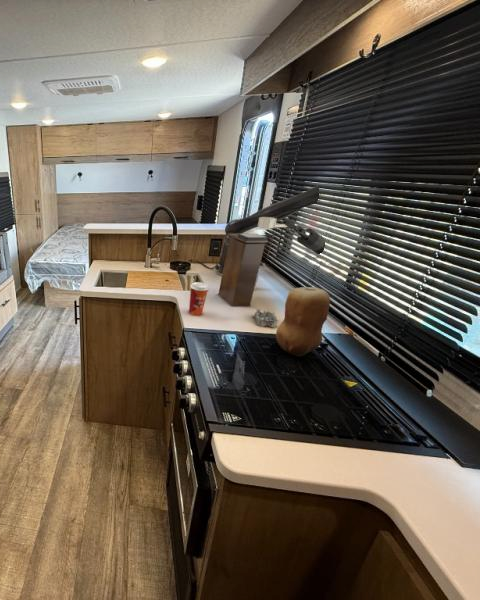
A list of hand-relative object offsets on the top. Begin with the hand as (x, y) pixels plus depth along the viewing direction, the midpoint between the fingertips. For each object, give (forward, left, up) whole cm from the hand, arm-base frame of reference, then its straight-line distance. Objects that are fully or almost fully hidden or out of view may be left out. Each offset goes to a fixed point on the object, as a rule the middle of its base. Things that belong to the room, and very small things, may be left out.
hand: (285, 222), depth 142 cm
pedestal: (+3, -18, -38) cm, 42 cm away
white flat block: (0, -3, -2) cm, 4 cm away
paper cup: (+16, -43, -38) cm, 60 cm away
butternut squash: (+50, -20, -38) cm, 66 cm away
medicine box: (-13, -3, -38) cm, 40 cm away
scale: (+7, -18, -6) cm, 20 cm away
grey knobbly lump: (+26, -16, -38) cm, 49 cm away
